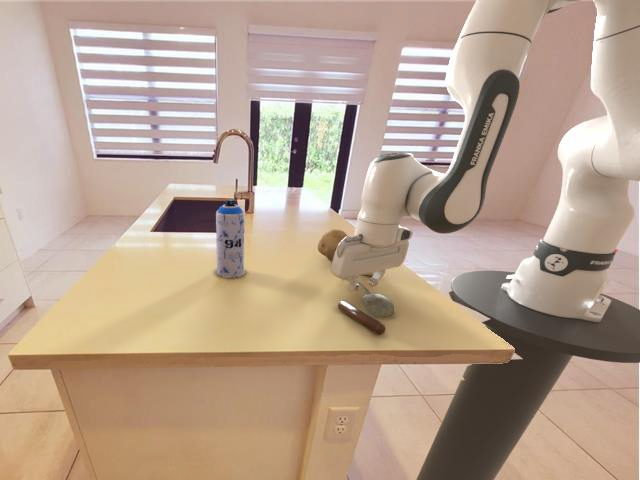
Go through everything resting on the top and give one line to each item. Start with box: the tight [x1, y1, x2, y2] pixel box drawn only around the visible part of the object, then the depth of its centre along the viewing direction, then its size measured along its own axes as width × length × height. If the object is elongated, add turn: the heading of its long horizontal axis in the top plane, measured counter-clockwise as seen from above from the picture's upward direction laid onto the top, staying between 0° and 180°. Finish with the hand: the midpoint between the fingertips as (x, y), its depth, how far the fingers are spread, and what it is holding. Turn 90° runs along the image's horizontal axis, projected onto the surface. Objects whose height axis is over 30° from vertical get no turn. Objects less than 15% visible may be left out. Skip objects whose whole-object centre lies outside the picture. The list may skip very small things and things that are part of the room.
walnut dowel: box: [337, 299, 387, 335], centre depth 66 cm, size 2×12×2 cm, turn 26°
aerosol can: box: [215, 199, 246, 279], centre depth 84 cm, size 8×8×20 cm
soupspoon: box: [356, 279, 396, 318], centre depth 77 cm, size 22×3×7 cm
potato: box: [317, 228, 349, 262], centre depth 95 cm, size 9×9×10 cm
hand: (363, 287), depth 77 cm, fingers closed on soupspoon, 5 cm apart
